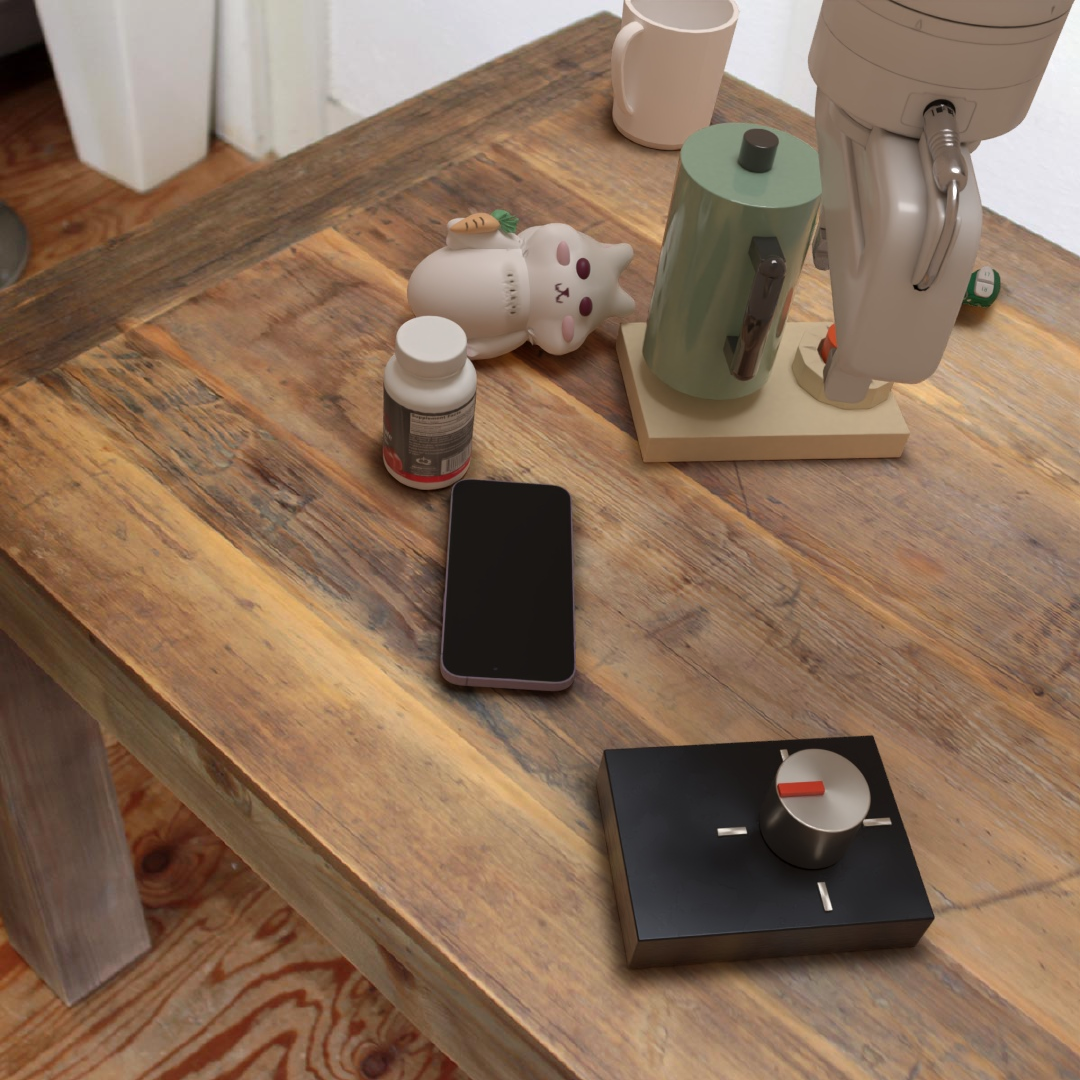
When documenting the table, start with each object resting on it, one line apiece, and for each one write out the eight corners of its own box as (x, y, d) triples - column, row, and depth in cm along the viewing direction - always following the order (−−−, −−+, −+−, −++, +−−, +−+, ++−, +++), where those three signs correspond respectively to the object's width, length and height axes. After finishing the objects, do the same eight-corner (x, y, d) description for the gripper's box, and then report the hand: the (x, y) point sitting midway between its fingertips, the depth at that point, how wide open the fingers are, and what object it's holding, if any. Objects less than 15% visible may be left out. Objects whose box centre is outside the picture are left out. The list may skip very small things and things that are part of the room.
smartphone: (572, 485, 80) (577, 684, 70) (570, 498, 81) (575, 697, 71) (451, 476, 80) (438, 676, 70) (450, 490, 81) (437, 689, 70)
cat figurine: (397, 220, 82) (639, 201, 83) (400, 211, 90) (622, 194, 90) (412, 373, 85) (646, 354, 86) (414, 352, 92) (629, 335, 93)
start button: (866, 340, 88) (874, 319, 87) (882, 376, 86) (890, 355, 84) (814, 340, 87) (821, 319, 86) (829, 377, 85) (836, 356, 84)
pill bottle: (375, 435, 83) (376, 310, 75) (460, 426, 84) (469, 303, 77) (390, 497, 79) (392, 373, 72) (478, 487, 81) (489, 364, 73)
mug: (662, 84, 114) (683, -34, 107) (735, 134, 110) (763, 15, 102) (565, 120, 109) (580, -2, 101) (638, 173, 105) (659, 50, 97)
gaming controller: (862, 295, 100) (874, 284, 94) (874, 245, 100) (887, 231, 94) (984, 323, 99) (1004, 314, 93) (997, 273, 99) (1018, 260, 93)
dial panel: (857, 765, 70) (874, 732, 68) (916, 946, 63) (937, 916, 61) (595, 780, 68) (603, 746, 65) (628, 969, 61) (638, 939, 59)
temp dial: (836, 784, 65) (857, 742, 63) (861, 866, 63) (884, 825, 60) (749, 790, 65) (767, 747, 62) (771, 872, 62) (790, 831, 59)
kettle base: (856, 345, 93) (873, 300, 90) (904, 457, 86) (923, 412, 83) (615, 347, 91) (623, 300, 88) (643, 462, 83) (653, 416, 80)
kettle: (748, 291, 90) (804, 77, 78) (798, 432, 81) (871, 214, 69) (625, 291, 88) (665, 73, 77) (663, 434, 79) (714, 213, 68)
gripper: (1057, 208, 45) (925, 493, 55) (976, -60, 58) (883, 208, 68) (871, 181, 44) (773, 472, 55) (833, -80, 58) (761, 191, 68)
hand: (834, 323), depth 62 cm, fingers open, 8 cm apart
